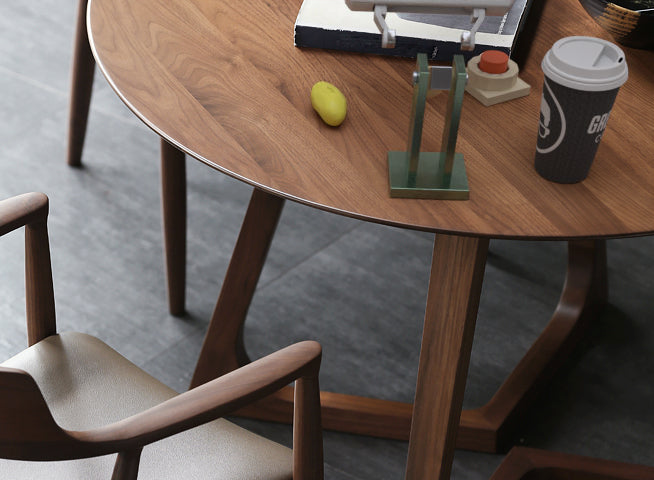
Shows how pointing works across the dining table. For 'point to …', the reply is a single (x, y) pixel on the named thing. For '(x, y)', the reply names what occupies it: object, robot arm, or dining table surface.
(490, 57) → the button
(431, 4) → the robot arm
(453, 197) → the bracket
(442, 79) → the lever
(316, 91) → the lemon
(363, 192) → the dining table surface
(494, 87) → the button box
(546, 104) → the coffee cup
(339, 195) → the dining table surface
